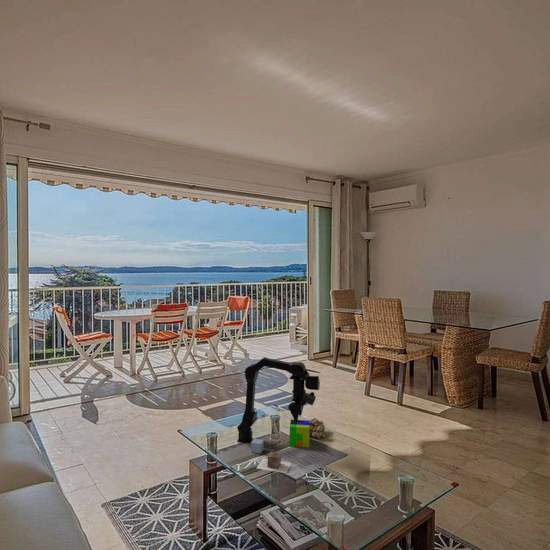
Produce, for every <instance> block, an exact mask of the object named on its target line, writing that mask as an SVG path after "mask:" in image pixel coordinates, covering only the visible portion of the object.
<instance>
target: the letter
mask: <svg viewBox="0 0 550 550" xmlns="http://www.w3.org/2000/svg"><path fill="white" fill-rule="evenodd" d="M267 463H268V458H261V460H260V462H259V463H258V465H257V466H256V469H257V470H264V471H271V472H276V473H277V472H278V473H282V474H283V473H284V474H287V473H288V471H289V468H291V465H292V462H289V461H282V460H281V464H280V466H279V468H278V469H276V468H269V467H267Z"/></svg>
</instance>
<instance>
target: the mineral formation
mask: <svg viewBox="0 0 550 550" xmlns="http://www.w3.org/2000/svg"><path fill="white" fill-rule="evenodd" d="M309 421H310V432H309V436H311V437H313V438H317V439H320V438H321V437H322V438H325V437H326V435H325V433H326V432H325V429H326V427H325V424H324V421H323V420H319V419H317V417H313V418H312V419H309Z"/></svg>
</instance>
